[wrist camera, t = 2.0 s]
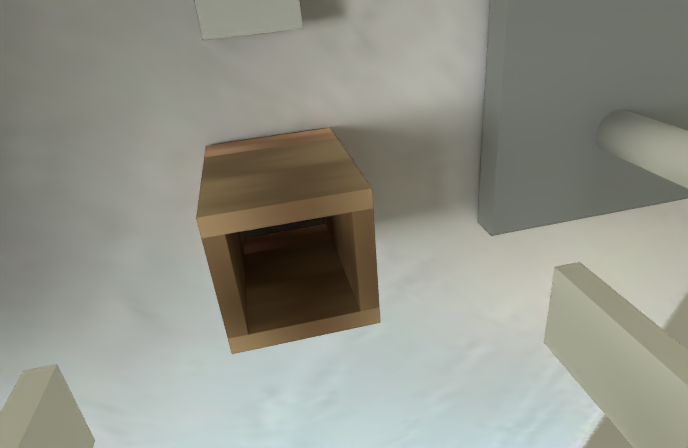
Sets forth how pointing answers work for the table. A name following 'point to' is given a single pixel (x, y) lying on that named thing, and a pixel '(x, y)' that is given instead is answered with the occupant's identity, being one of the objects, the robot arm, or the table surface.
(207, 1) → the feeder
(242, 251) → the sleeve
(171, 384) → the table surface
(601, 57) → the pinboard
